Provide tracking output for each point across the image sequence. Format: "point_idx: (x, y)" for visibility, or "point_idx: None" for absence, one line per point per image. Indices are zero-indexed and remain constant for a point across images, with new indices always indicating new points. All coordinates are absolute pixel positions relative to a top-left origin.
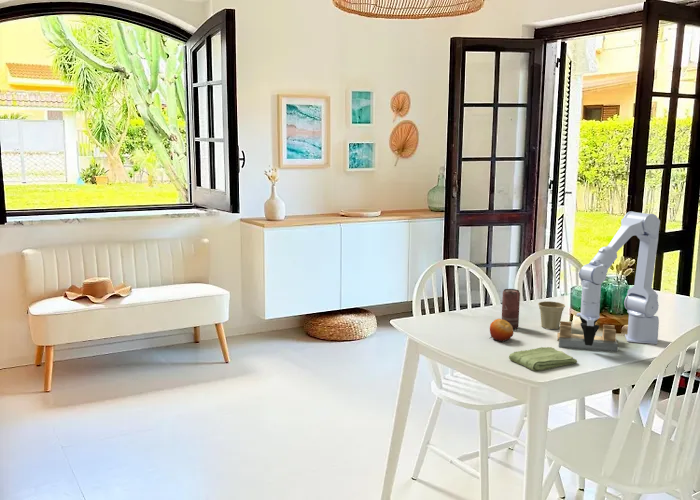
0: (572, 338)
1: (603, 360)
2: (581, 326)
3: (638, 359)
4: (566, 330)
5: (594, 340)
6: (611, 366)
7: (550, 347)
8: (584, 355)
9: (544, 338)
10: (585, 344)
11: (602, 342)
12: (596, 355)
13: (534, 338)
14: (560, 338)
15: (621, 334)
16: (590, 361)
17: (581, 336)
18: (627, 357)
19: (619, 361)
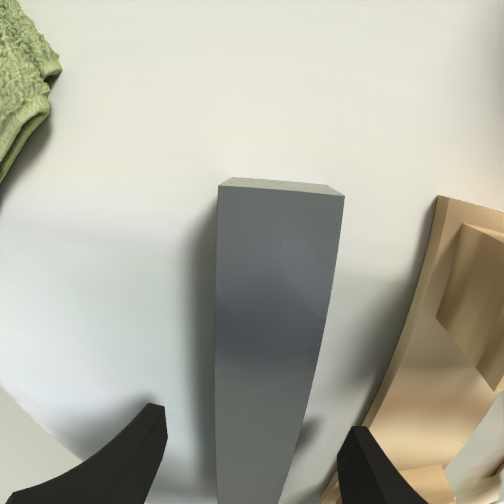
0: (303, 346)
1: (57, 402)
2: (11, 499)
3: (145, 500)
4: (492, 317)
5: (264, 471)
6: (11, 396)
7: (9, 99)
8: (84, 342)
9: (484, 97)
10: (145, 406)
11: (226, 490)
12: (117, 404)
13: (460, 16)
14: (280, 206)
15: (472, 483)
16: (13, 340)
17: (477, 384)
18: (153, 488)
19: (82, 448)
